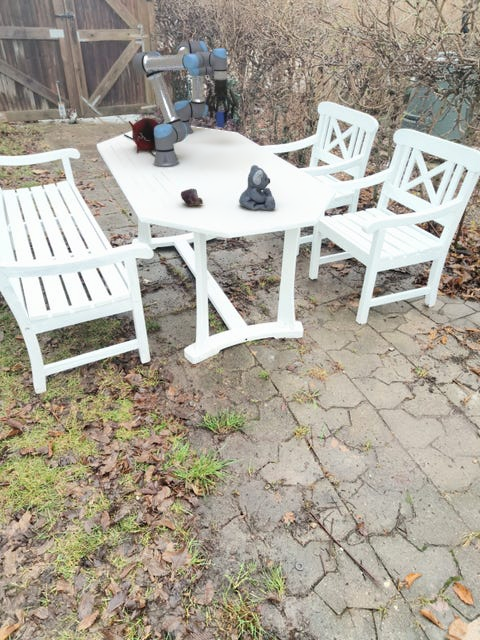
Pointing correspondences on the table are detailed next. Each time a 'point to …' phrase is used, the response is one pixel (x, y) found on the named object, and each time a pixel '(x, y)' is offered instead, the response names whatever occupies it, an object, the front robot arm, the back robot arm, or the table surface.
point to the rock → (191, 197)
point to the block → (220, 118)
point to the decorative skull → (144, 134)
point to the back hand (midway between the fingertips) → (221, 122)
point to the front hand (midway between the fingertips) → (221, 118)
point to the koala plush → (257, 191)
